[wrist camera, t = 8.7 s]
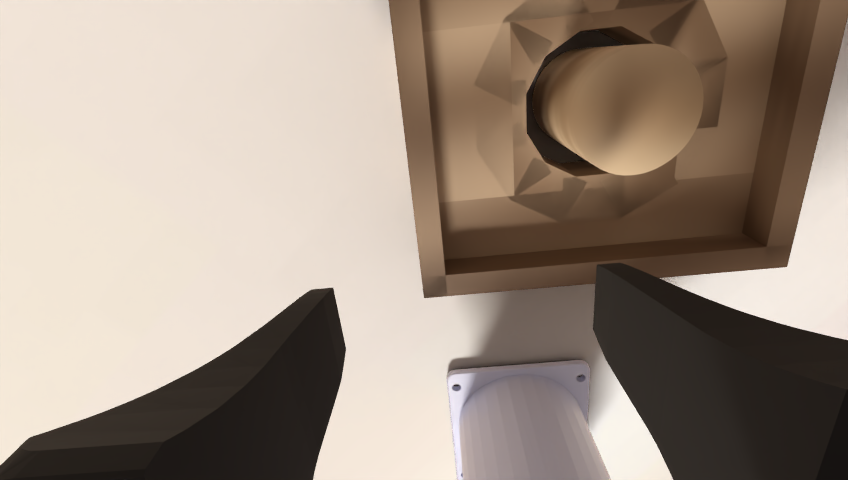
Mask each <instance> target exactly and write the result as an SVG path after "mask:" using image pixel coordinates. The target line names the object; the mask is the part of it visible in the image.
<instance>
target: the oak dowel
mask: <svg viewBox="0 0 848 480" xmlns="http://www.w3.org/2000/svg"><path fill="white" fill-rule="evenodd" d="M703 100H704V96H703V86H702V82H701V79H700V76H699V73H698V71H697V70H696V68H695V66H694V65H693V64H692V62H691V61H690V60H689V59H688V58H687V57H686V56H685V55H684V54H682V53H681V52H679V51H678V50H676V49H673V48H671V47H668V46H665V45H660V44H636V45H622V46H607V47H592V48H579V49H573V50H570V51H567V52H565V53H562V54H561V55H559V56H557V57H556V58H554V59H553V60H552V61H551V62H550V63H549V64H548V65H547V66H546V67H545V68H544V69H543V71H542V72H541V74H540V75H539V77H538V79H537V81H536V84H535V87H534V90H533V96H532V108H533V113H534V116H535V119H536V121H537V123H538V125H539V126H540V128H541V129H542V130H543V131H544V132H545V133H546V134H547V135H548V136H550V137H551V138H553V139H554V140H556V141H557V142H559V143H560V144H562V145H563V146H565V147H567V148H568V149H570V150H571V151H573V152H574V153H576V154H577V155H579V156H580V157H582V158H584V159H585V160H587V161H588V162H590V163H591V164H593V165H594V166H596V167H598V168H599V169H601V170H603V171H606V172H608V173H612V174H616V175H637V174H642V173H646V172H649V171H652V170H654V169H657V168H658V167H660V166H662V165H664V164H665V163H667V162H668V161H670V160H671V159H672V158H674V157H675V156H676V155H677V154H678V153H679V152H680V151H681V150H682V149H683V148H684V147H685V146H686V144H687V143H688V142H689V140H690V139H691V137H692V136H693V134H694V132H695V130H696V128H697V126H698V123H699V121H700V118H701V114H702V109H703Z"/></svg>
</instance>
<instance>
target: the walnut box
mask: <svg viewBox="0 0 848 480" xmlns="http://www.w3.org/2000/svg"><path fill="white" fill-rule="evenodd" d="M389 8H390V16H391V24H392V33H393V41H394V50H395V58H396V66H397V75H398V83H399V91H400V100H401V108H402V117H403V125H404V133H405V142H406V150H407V158H408V167H409V175H410V184H411V192H412V200H413V209H414V217H415V225H416V234H417V242H418V251H419V259H420V267H421V276H422V284H423V292H424V298H431V297H442V296H454V295H465V294H477V293H489V292H500V291H512V290H524V289H535V288H547V287H558V286H570V285H582V284H593V283H596V268H597V265H598V264H609V263H623V264H626V265H629V266H632V267H634V268H636V269H639V270H641V271H644V272H646V273H648V274H650V275H653V276H655V277H657V278H663V277H675V276H686V275H698V274H710V273H721V272H733V271H745V270H756V269H768V268H779V267H787V265H788V261H789V256H790V252H791V248H792V244H793V240H794V236H795V232H796V228H797V224H798V219H799V215H800V211H801V207H802V203H803V199H804V195H805V191H806V186H807V182H808V178H809V174H810V170H811V166H812V162H813V158H814V153H815V149H816V145H817V141H818V137H819V133H820V129H821V125H822V121H823V116H824V112H825V108H826V104H827V100H828V96H829V92H830V88H831V83H832V79H833V75H834V71H835V67H836V63H837V59H838V55H839V51H840V46H841V42H842V38H843V34H844V30H845V26H846V22H847V18H848V0H389ZM593 30H598V31H600V32H602V33H604V34H606V35H607V36H609V37H611V38H613V39H615V40H617V41H619V42H621V43H623V44H624V45H636V44H660V45H665V46H668V47H671V48H673V49H676V50H678V51H679V52H681V53H682V54H684V55H685V56H686V57H687V58H688V59H689V60H690V61H691V62H692V64H693V65H694V66H695V68H696V70H697V71H698V73H699V76H700V79H701V82H702V86H703V96H704V100H703V109H702V114H701V118H700V121H699V123H698V126H697V128H696V130H695V132H694V134H693V136H692V137H691V139H690V140H689V142H688V143H687V144H686V146H685V147H684V148H683V149H682V150H681V151H680V152H679V153H678V154H677V155H676V156H675V157H674V158H672V159H671V160H670V161H668V162H667V163H665V164H664V165H662V166H660V167H658V168H657V169H654V170H652V171H649V172H646V173H642V174H637V175H616V174H612V173H608V172H606V171H603V170H601V169H599V168H598V167H596V166H594V165H593V164H591V163H590V162H588V161H578V162H568V163H558V162H555V161H553V160H551V159H549V158H547V157H545V156H543V155H540V153H539V152H538V150H537V149H536V147H535V145H534V144H533V142H532V141H531V139H530V137H529V136H528V134H527V122H526V93H527V91H528V90H529V88H530V86H531V84H532V82H533V80H534V78H535V76H536V74H537V72H538V70H539V68H540V66H541V64H542V62H543V60H544V58H545V56H547V55H548V54H549V53H551V52H552V51H553V50H555V49H556V48H558V47H559V46H560V45H562V44H563V43H564V42H566V41H567V40H569V39H570V38H571V37H573V36H574V35H575V34H577V33H578V32H584V31H593Z"/></svg>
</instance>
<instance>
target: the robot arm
mask: <svg viewBox="0 0 848 480" xmlns="http://www.w3.org/2000/svg"><path fill="white" fill-rule="evenodd" d="M593 330H594V332H595V335H596V337H597V340H598V342H599V345H600V347H601V349H602V351H603V354H604V356H605V358H606V360H607V362H608V364H609V365H610V367H611V369H612V371H613V372H614V374H615V376H616V377H617V379H618V381H619V382H620V384H621V386H622V387H623V389H624V390H625V392H626V394H627V395H628V397H629V399H630V400H631V402H632V404H633V405H634V407H635V408H636V410H637V412H638V413H639V415H640V417H641V418H642V420H643V422H644V423H645V425H646V426H647V428H648V430H649V432H650V433H651V435H652V437H653V439H654V441H655V442H656V444H657V446H658V448H659V450H660V452H661V454H662V456H663V458H664V461H665V463H666V465H667V467H668V469H669V471H670V473H671V475H672V477H673V480H848V340H844V339H839V338H835V337H830V336H826V335H822V334H818V333H814V332H810V331H806V330H802V329H798V328H794V327H790V326H787V325H783V324H779V323H776V322H773V321H770V320H766V319H763V318H760V317H757V316H753V315H750V314H747V313H744V312H741V311H738V310H735V309H732V308H730V307H727V306H724V305H722V304H719V303H717V302H714V301H711V300H709V299H706V298H704V297H701V296H699V295H696V294H694V293H691V292H689V291H687V290H684V289H682V288H680V287H677V286H675V285H673V284H671V283H668V282H666V281H664V280H662V279H659V278H657V277H655V276H653V275H650V274H648V273H646V272H644V271H641V270H639V269H636V268H634V267H632V266H629V265H626V264H623V263H609V264H598V265H597V268H596V286H595V304H594V323H593ZM345 352H346V347H345V342H344V337H343V333H342V328H341V323H340V318H339V314H338V309H337V304H336V299H335V295H334V290H333V288H325V289H314V290H310V291H309V292H307V293H306V294H304V295H303V296H301V297H300V298H299V299H297V300H296V301H295V302H294V303H292V304H291V305H290V306H288V307H287V308H286V309H285V310H283V311H282V312H281V313H280V314H278V315H277V316H276V317H274V318H273V319H272V320H271V321H269V322H268V323H267V324H265V325H264V326H263V327H261V328H260V329H258V330H257V331H256V332H254V333H253V334H251V335H250V336H249V337H247V338H246V339H244V340H243V341H242V342H240V343H239V344H237V345H236V346H234V347H233V348H231V349H230V350H228V351H227V352H225V353H224V354H222V355H220V356H219V357H217V358H215V359H214V360H212V361H210V362H209V363H207V364H205V365H203V366H202V367H200V368H198V369H196V370H195V371H193V372H191V373H189V374H187V375H185V376H183V377H181V378H179V379H177V380H175V381H173V382H171V383H169V384H167V385H165V386H163V387H161V388H159V389H157V390H155V391H152V392H150V393H148V394H146V395H143V396H141V397H139V398H137V399H134V400H132V401H130V402H127V403H125V404H122V405H120V406H117V407H115V408H112V409H110V410H107V411H105V412H102V413H100V414H97V415H94V416H92V417H89V418H86V419H83V420H80V421H77V422H74V423H71V424H69V425H66V426H63V427H60V428H57V429H54V430H51V431H48V432H45V433H42V434H39V435H36V436H33V437H30V438H29V439H27V440H26V441H25V442H24V443H23V444H22V445H21V446H20V447H19V448H18V449H17V450H16V451H15V452H14V453H13V454H12V455H11V456H10V457H9V458H8V459H7V460H6V461H5V462H4V463H3V464H1V465H0V480H313V476H314V471H315V467H316V463H317V459H318V455H319V452H320V449H321V445H322V442H323V439H324V435H325V432H326V429H327V426H328V422H329V419H330V416H331V413H332V409H333V406H334V403H335V399H336V396H337V393H338V389H339V386H340V382H341V378H342V372H343V366H344V359H345ZM578 375H582V376H581V377H577V376H578ZM589 382H590V367H589V365H588V363H587V362H586V361H584V360H572V361H559V362H546V363H534V364H521V365H508V366H495V367H482V368H469V369H456V370H452V371H450V372H449V373H448V374H447V384H448V394H449V403H450V413H451V422H452V432H453V441H454V451H455V460H456V470H457V480H611V479H610V476H609V474H608V472H607V469H606V467H605V465H604V462H603V460H602V458H601V455H600V453H599V451H598V449H597V446H596V444H595V442H594V439H593V437H592V435H591V432H590V430H589V428H588V425H587V419H588V401H589ZM455 384H459V386H457V387H456V386H453V385H455Z"/></svg>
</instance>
